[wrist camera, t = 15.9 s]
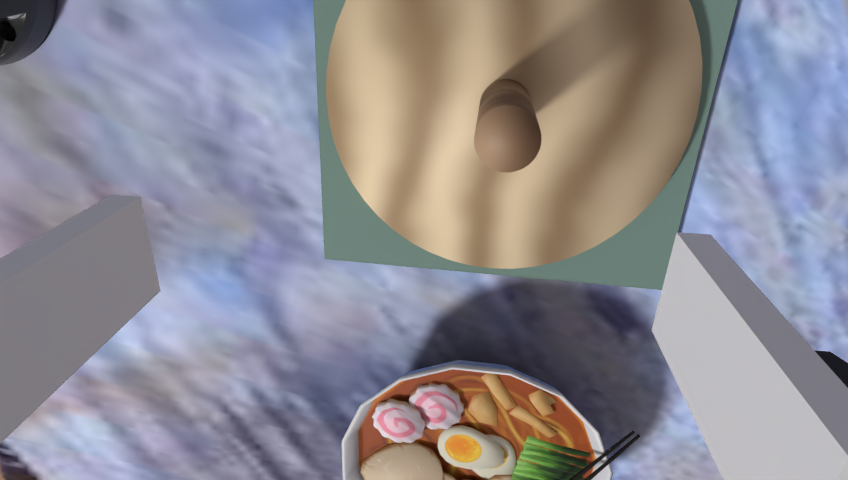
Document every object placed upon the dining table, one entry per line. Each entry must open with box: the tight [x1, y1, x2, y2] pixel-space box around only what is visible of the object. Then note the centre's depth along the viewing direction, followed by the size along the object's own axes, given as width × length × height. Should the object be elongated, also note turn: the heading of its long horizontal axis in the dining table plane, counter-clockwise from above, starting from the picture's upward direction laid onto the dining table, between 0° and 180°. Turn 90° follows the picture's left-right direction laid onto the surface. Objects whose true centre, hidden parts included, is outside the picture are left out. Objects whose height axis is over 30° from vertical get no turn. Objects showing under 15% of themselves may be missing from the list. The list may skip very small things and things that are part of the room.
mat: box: [313, 0, 738, 290], centre depth 39 cm, size 28×28×1 cm
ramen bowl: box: [342, 360, 640, 480], centre depth 49 cm, size 25×23×8 cm
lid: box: [326, 0, 703, 269], centre depth 34 cm, size 26×26×11 cm
